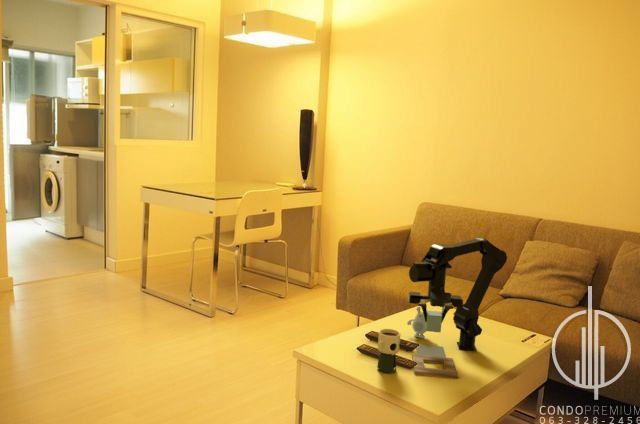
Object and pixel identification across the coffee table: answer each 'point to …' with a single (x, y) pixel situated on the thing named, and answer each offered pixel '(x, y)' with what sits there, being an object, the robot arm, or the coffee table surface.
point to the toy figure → (418, 324)
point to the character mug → (388, 349)
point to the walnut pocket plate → (448, 372)
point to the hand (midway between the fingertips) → (433, 322)
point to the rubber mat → (430, 350)
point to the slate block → (433, 321)
